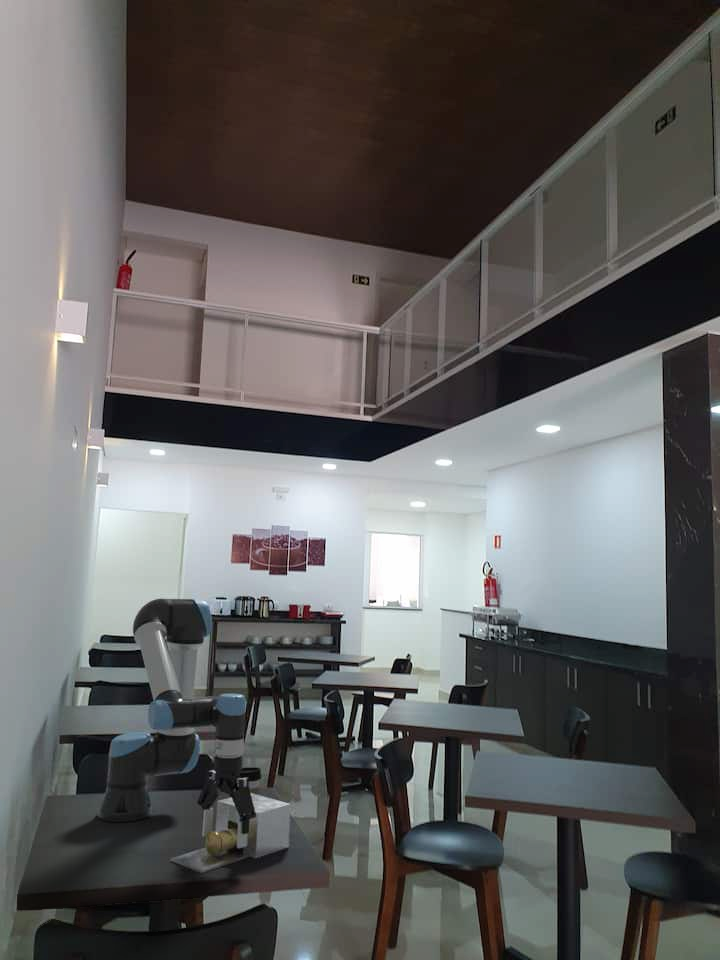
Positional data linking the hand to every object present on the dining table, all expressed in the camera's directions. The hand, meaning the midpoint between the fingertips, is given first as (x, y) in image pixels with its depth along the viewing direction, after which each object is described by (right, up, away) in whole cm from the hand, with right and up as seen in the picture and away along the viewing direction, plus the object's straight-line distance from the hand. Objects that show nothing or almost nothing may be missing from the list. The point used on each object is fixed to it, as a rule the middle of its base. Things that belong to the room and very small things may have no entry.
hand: (224, 840), depth 191 cm
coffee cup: (+1, -8, +28) cm, 29 cm away
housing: (+1, -4, +1) cm, 4 cm away
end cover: (+2, -3, +2) cm, 4 cm away
